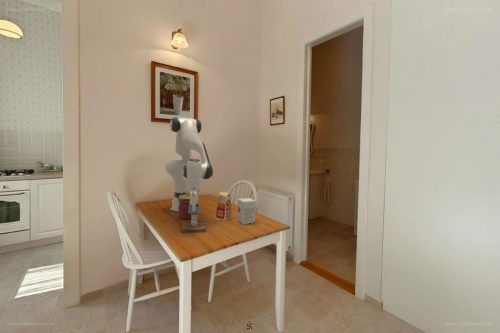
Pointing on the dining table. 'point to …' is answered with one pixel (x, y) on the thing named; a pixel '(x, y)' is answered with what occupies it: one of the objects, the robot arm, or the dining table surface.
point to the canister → (184, 206)
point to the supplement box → (246, 210)
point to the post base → (197, 228)
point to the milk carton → (223, 206)
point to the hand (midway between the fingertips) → (194, 209)
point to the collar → (195, 210)
